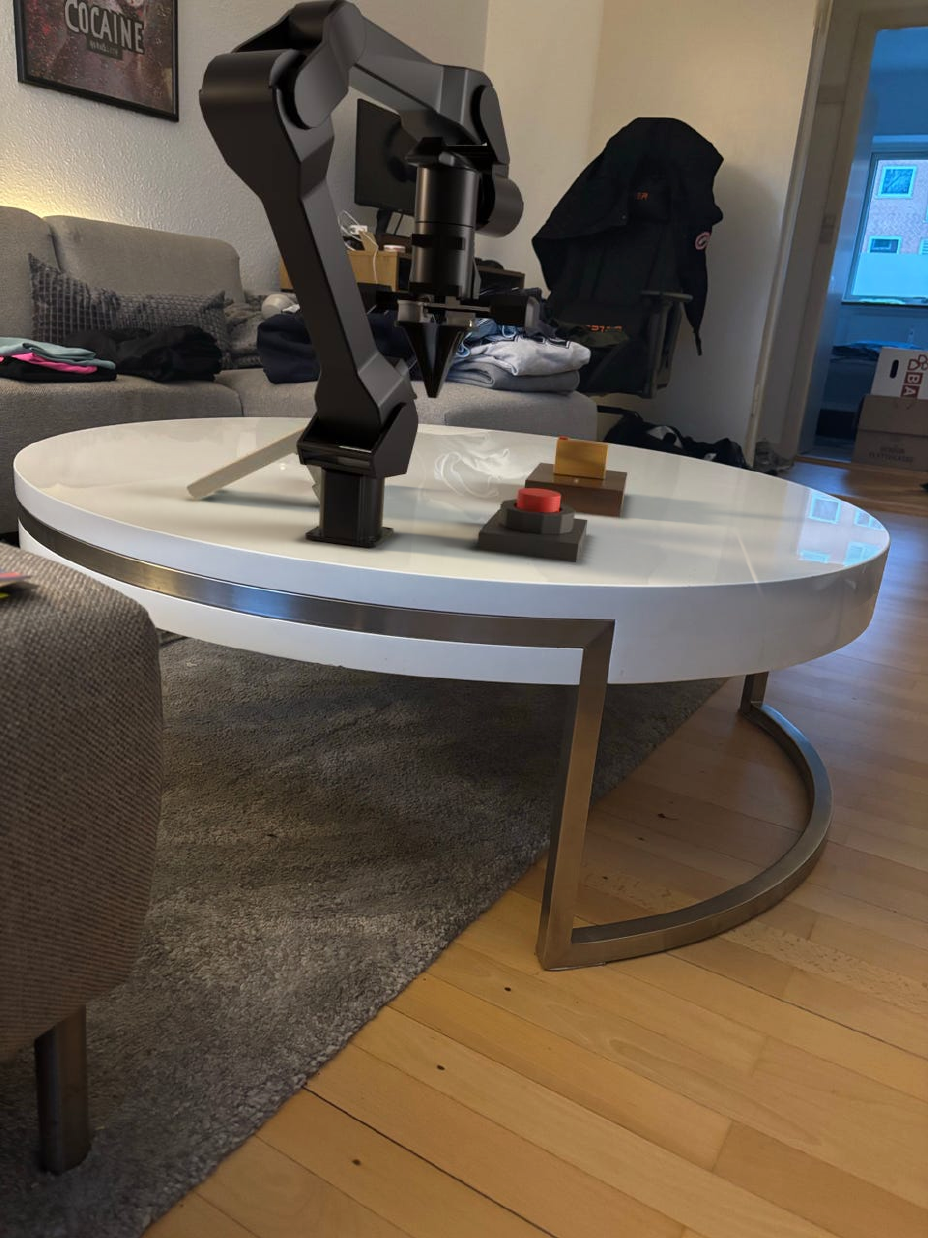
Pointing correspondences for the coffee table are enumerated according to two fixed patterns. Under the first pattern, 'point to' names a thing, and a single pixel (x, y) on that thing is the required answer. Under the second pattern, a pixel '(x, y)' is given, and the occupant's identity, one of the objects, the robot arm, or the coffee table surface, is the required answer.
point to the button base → (534, 532)
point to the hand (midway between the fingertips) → (432, 397)
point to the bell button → (538, 500)
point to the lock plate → (582, 490)
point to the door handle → (253, 466)
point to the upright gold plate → (581, 458)
